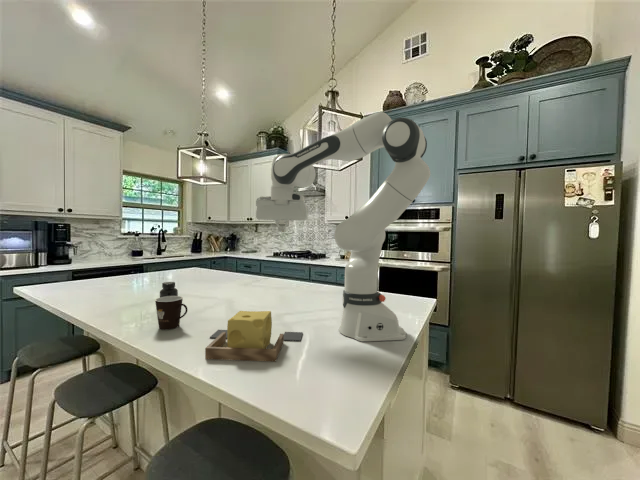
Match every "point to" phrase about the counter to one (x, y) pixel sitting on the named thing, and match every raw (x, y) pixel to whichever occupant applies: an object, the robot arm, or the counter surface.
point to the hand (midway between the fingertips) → (281, 231)
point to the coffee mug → (169, 311)
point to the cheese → (249, 329)
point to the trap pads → (287, 335)
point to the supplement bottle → (168, 289)
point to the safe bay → (242, 351)
